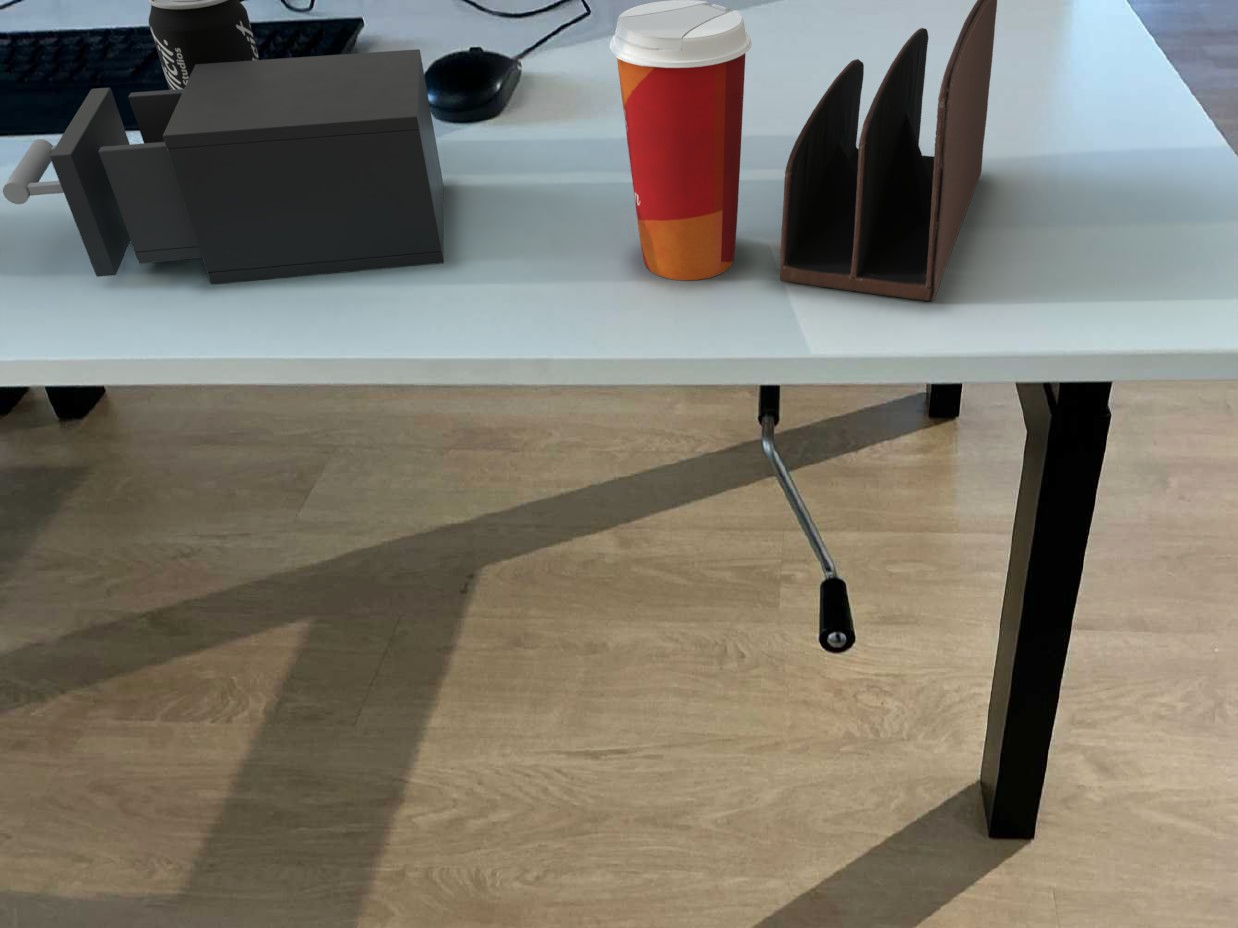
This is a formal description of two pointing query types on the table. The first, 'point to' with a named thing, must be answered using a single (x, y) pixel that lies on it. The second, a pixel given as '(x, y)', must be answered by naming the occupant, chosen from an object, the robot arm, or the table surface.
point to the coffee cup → (683, 130)
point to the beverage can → (199, 35)
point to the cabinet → (309, 165)
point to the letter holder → (888, 172)
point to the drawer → (114, 181)
